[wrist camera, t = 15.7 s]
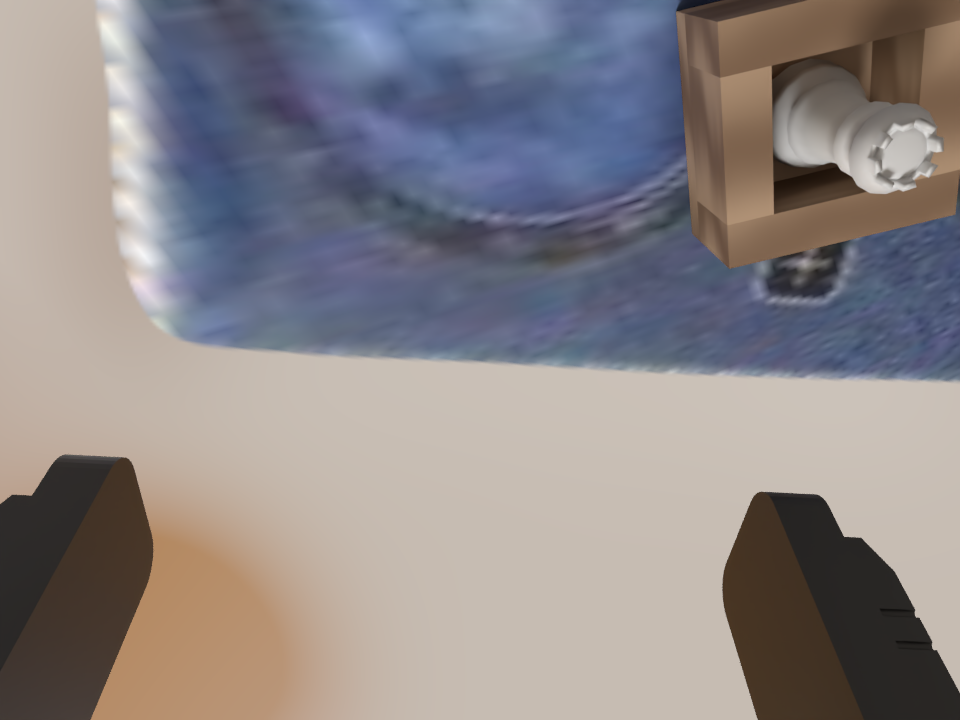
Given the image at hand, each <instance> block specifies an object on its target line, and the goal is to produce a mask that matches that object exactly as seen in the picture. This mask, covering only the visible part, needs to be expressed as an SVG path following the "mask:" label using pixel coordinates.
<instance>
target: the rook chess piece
mask: <svg viewBox="0 0 960 720" xmlns="http://www.w3.org/2000/svg"><path fill="white" fill-rule="evenodd" d="M772 123H773V159H775V160H777V161H779V162H780V163H786V164H787V165H789V166H791V167H803V168H815V167H818V166H821V165H824V164H827V163H830V162H832V163H836V164H837V165H838V167H839V168H840V170H841V171H843V172H845V173H846V174H848V175H850V176H852V178H853V179H854V181H855V183H856V184H857V186H858V187H860V188H862V189H864V190H865V191H867V192H869V193H875V194H888V193H891V192H894V191H897V190H901V191H903V192H904V191H907V190H910V189H913V188H916V183H915V179H916V178H918V177H919V176H920V175H923V176H926V177H928V178H929V177H930V176H931V175H932V173H933V172H934V171H935V170H936V168H937V167H938V165H936V164H934V163H931V159H932V156H933V154H934V152H943V151H944V138H943V137H940V136H937V131H936V129H937V128H938V126H936V124H935V122H934V120H933V118H932V116H931V114H930V112H928V111H927V110H925V109H924V108H922V107H921V106H919V105H918V104H911V103H898V104H895V105H892V104H890V103H889V102H878V101H874V102H871V103H870V102H869V101H867V99H866V94H865V92H864V90H863V88H862V86H861V84H860V82H859V81H858V79H857V77H856V76H855V75H854V74H852V73H851V72H849V71H848V70H846V69H845V68H843V67H841V66H840V65H836V64H834V63H833V62H831V61H829V60H819V59H808V60H805V61H802V62H799V63H796V64H793V65H790V66H789V67H788V68H786V69H785V70H784V71H783V72H781V73H780V74H779V75H778V76H777V77H775V78H774V79H773V80H772Z"/></svg>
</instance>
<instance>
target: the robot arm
mask: <svg viewBox="0 0 960 720" xmlns="http://www.w3.org/2000/svg"><path fill="white" fill-rule="evenodd" d="M152 560H153V539H152V534H151V530H150V527H149V523H148V519H147V516H146V512H145V508H144V504H143V500H142V497H141V493H140V489H139V485H138V482H137V478H136V474H135V470H134V468H133V465H132V463H131V462H130V460H129V459H127V458H122V457H101V456H83V455H62V456H60V457H59V458H57V460H55V462H54V463H53V464H52V465H51V467H50V468H49V470H48V472H47V473H46V475H45V476H44V478H43V479H42V481H41V482H40V484H39V486H38V487H37V489H36V490H35V492H34V493H33V495H32V496H26V495H11V496H10V497H9V498H7V499H6V500H5V501H4V502H3V503H1V504H0V720H90V719H91V717H92V714H93V712H94V710H95V707H96V705H97V703H98V700H99V698H100V696H101V693H102V691H103V688H104V686H105V684H106V681H107V679H108V677H109V674H110V672H111V669H112V667H113V665H114V662H115V660H116V657H117V655H118V653H119V650H120V648H121V646H122V643H123V641H124V638H125V636H126V634H127V631H128V629H129V626H130V624H131V622H132V619H133V617H134V614H135V612H136V610H137V607H138V605H139V603H140V600H141V598H142V596H143V593H144V590H145V588H146V586H147V583H148V580H149V576H150V572H151V566H152ZM723 602H724V608H725V612H726V616H727V620H728V623H729V626H730V629H731V633H732V636H733V639H734V643H735V646H736V649H737V653H738V656H739V659H740V663H741V666H742V669H743V672H744V676H745V679H746V682H747V686H748V689H749V692H750V696H751V699H752V702H753V706H754V709H755V712H756V715H757V718H758V720H960V693H959V691H958V689H957V687H956V685H955V683H954V681H953V680H952V678H951V676H950V674H949V672H948V670H947V668H946V666H945V665H944V663H943V661H942V659H941V657H940V655H939V654H938V652H937V650H933V649H932V641H931V639H930V637H929V635H928V633H927V631H926V629H925V628H924V626H923V624H922V622H921V620H920V618H916V617H915V613H914V612H915V609H914V607H913V605H912V603H911V601H910V600H909V598H908V596H907V594H906V592H905V590H904V588H903V587H902V585H901V583H900V581H899V579H898V577H897V575H896V574H895V572H894V571H893V570H892V569H891V568H890V567H889V566H888V565H887V564H886V563H885V562H884V561H883V560H882V559H881V558H880V557H879V556H878V555H877V554H876V552H874V551H873V550H872V548H870V547H869V545H867V543H865V542H864V540H863V539H862V538H854V537H852V538H851V537H844V536H843V534H842V532H841V530H840V528H839V526H838V524H837V522H836V520H835V518H834V516H833V514H832V512H831V510H830V508H829V506H828V504H827V503H826V501H825V500H824V499H823V498H822V497H820V496H819V495H814V494H793V493H774V492H759V493H757V494H756V495H755V496H754V497H753V499H752V501H751V503H750V506H749V508H748V510H747V513H746V515H745V518H744V521H743V523H742V525H741V528H740V530H739V533H738V535H737V538H736V540H735V543H734V545H733V548H732V550H731V553H730V555H729V558H728V560H727V563H726V566H725V570H724V575H723Z"/></svg>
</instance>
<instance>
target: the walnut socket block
mask: <svg viewBox="0 0 960 720" xmlns="http://www.w3.org/2000/svg"><path fill="white" fill-rule="evenodd" d="M676 17H677V30H678V44H679V58H680V72H681V86H682V99H683V113H684V127H685V141H686V155H687V168H688V182H689V196H690V210H691V223H692V234H693V235H694V236H695V237H696V238H697V239H698V240H700V241H701V242H702V243H703V244H704V245H705V246H706V247H707V248H708V249H709V250H710V251H711V252H712V253H713V254H714V255H715V256H716V257H718V258H719V259H720V260H721V261H722V262H723V263H724V264H725V265H726V266H727V267H728V268H729V269H731V268H735V267H739V266H743V265H747V264H751V263H755V262H760V261H764V260H768V259H772V258H776V257H780V256H785V255H789V254H793V253H797V252H801V251H805V250H809V249H814V248H818V247H822V246H826V245H830V244H834V243H839V242H843V241H847V240H851V239H855V238H859V237H863V236H868V235H872V234H876V233H880V232H884V231H888V230H893V229H897V228H901V227H905V226H909V225H913V224H917V223H922V222H926V221H930V220H934V219H938V218H942V217H947V216H951V215H955V211H956V202H957V192H958V183H959V174H960V0H722V1H718V2H714V3H709V4H705V5H701V6H697V7H693V8H689V9H684V10H680V11H676ZM808 59H819V60H829V61H831V62H833V63H834V64H836V65H840V66H841V67H843V68H845V69H846V70H848V71H849V72H851V73H852V74H854V75H855V76H856V77H857V79H858V81H859V82H860V84H861V86H862V88H863V90H864V92H865V94H866V99H867V101H869V102H870V103H871V102H874V101H878V102H889V103H890V104H892V105H895V104H898V103H911V104H918V105H919V106H921V107H922V108H924V109H925V110H927V111H928V112H930V114H931V116H932V118H933V120H934V122H935V124H936V126H938V128H937V129H936V131H937V136H940V137H943V138H944V151H943V152H934V154H933V156H932V159H931V163H934V164H936V165H938V167H937V168H936V170H935V171H934V172H933V173H932V175H931V176H930V177H929V178H928V177H926V176H923V175H920V176H919V177H918V178H916V179H915V183H916V188H913V189H910V190H907V191H904V192H903V191H901V190H897V191H894V192H891V193H888V194H875V193H869V192H867V191H865V190H864V189H862V188H860V187H858V186H857V184H856V183H855V181H854V179H853V178H852V176H850V175H848V174H846V173H845V172H843V171H841V170H840V168H839V167H838V165H837V164H836V163H832V162H830V163H827V164H824V165H821V166H818V167H815V168H803V167H791V166H789V165H787V164H786V163H780V162H779V161H777V160H775V159H773V123H772V80H773V79H774V78H775V77H777V76H778V75H779V74H780V73H781V72H783V71H784V70H785V69H786V68H788V67H789V66H790V65H793V64H796V63H799V62H802V61H805V60H808Z"/></svg>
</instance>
